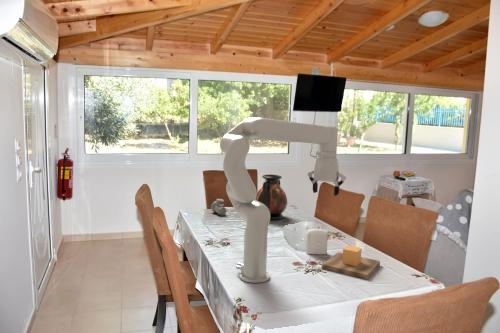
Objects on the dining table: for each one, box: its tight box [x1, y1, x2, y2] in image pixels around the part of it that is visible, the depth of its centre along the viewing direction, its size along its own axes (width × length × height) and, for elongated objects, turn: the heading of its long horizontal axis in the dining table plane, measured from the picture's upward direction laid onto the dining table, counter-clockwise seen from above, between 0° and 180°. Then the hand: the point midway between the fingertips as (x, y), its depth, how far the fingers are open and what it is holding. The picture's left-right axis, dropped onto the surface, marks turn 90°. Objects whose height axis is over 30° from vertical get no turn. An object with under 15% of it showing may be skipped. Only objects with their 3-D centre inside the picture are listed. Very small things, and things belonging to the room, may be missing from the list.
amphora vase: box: [255, 174, 288, 221], centre depth 260 cm, size 22×22×28 cm
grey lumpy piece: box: [210, 198, 228, 217], centre depth 267 cm, size 12×8×10 cm
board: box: [321, 251, 381, 280], centre depth 177 cm, size 20×20×7 cm
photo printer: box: [305, 228, 329, 255], centre depth 194 cm, size 10×4×12 cm, turn 89°
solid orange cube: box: [342, 245, 363, 266], centre depth 177 cm, size 6×6×6 cm
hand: (325, 193), depth 173 cm, fingers open, 9 cm apart
